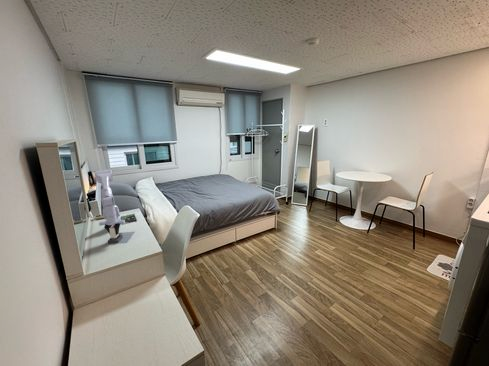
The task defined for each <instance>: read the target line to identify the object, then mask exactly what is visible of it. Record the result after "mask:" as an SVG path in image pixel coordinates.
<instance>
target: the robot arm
mask: <svg viewBox="0 0 489 366" xmlns="http://www.w3.org/2000/svg"><path fill="white" fill-rule="evenodd" d="M112 171H113V170H112V169H105V170H95V171H94V178H95V180H96V182H97V183H98V184H101V187H102V188H100V189H101V190H100V194H101V199H100V200H101V205H102V216H103V220H104V221H99V223H98V225H99V226H104V229H105V230H107V232H108V234H109V235H110V230H109V228H110V227H111V226H113V225H114V226H113V227H114V229H115V232H116V235H118V234H119V233H120V228H121V226H122V225H125V224H124V223H125V220H121V216H120V215H121V214H120V209H119V206H117V205H116V204H115V197H114V196H113V191H112V188H111V187H110V183H111V182H113V181H114V177H113V172H112Z"/></svg>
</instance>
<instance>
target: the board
mask: <svg viewBox="0 0 489 366" xmlns="http://www.w3.org/2000/svg"><path fill="white" fill-rule="evenodd" d="M135 233H136V231H127V232H119V235H122V236H123V238H122V239H121V240H120V241H119V243H111V244H108V243H107V244H106V245H119V244H128V242H129V241H130V240H131V239H132V237H133V236H134V234H135ZM117 239H118V238H115V239H113V240H117Z"/></svg>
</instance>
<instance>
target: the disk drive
mask: <svg viewBox="0 0 489 366" xmlns="http://www.w3.org/2000/svg"><path fill="white" fill-rule="evenodd" d="M120 219H121V220H125V223H124V224H123V225H126V224H130V223H134V222H135V223H137V222H138V219H137V217H136V214H135V213H131V214H125V215H121V216H120Z"/></svg>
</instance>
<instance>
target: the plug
mask: <svg viewBox="0 0 489 366" xmlns="http://www.w3.org/2000/svg"><path fill="white" fill-rule="evenodd" d="M113 226H114V225H113ZM113 226H111V227H110V228H109V230H110V234H109V235H110V238H117V236H118V235H119V234H118V235H116V232H115V229H114V227H113Z"/></svg>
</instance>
